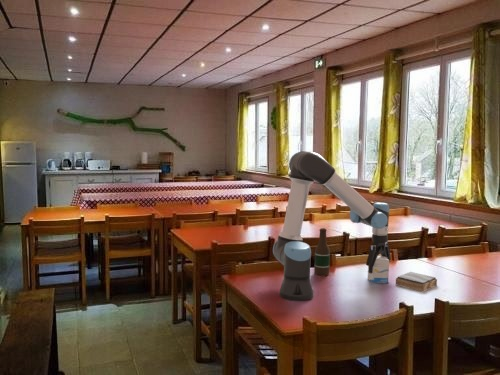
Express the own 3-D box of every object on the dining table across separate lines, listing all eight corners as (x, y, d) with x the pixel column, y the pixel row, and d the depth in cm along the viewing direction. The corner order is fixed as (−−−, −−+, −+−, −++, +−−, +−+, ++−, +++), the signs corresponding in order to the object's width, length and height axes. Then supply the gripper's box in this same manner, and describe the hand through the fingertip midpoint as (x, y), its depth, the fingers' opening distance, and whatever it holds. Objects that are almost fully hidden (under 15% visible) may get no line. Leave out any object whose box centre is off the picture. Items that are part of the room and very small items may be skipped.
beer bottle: (328, 272, 247) (330, 227, 245) (329, 276, 240) (331, 230, 237) (313, 271, 248) (315, 227, 246) (314, 275, 240) (315, 229, 238)
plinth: (422, 291, 217) (423, 283, 217) (395, 284, 227) (395, 276, 227) (436, 285, 227) (437, 277, 226) (409, 279, 237) (410, 271, 237)
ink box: (388, 283, 229) (389, 259, 228) (371, 282, 229) (372, 259, 228) (384, 278, 237) (385, 255, 236) (367, 277, 238) (368, 255, 236)
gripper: (373, 238, 220) (371, 283, 222) (399, 232, 236) (397, 274, 238) (359, 235, 225) (357, 279, 228) (386, 230, 242) (383, 271, 244)
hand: (377, 277), depth 233 cm, fingers closed on ink box, 11 cm apart
